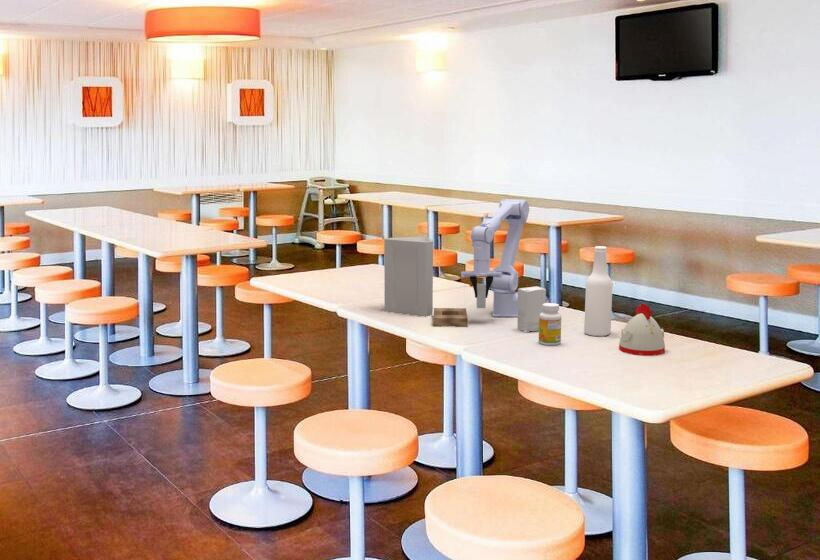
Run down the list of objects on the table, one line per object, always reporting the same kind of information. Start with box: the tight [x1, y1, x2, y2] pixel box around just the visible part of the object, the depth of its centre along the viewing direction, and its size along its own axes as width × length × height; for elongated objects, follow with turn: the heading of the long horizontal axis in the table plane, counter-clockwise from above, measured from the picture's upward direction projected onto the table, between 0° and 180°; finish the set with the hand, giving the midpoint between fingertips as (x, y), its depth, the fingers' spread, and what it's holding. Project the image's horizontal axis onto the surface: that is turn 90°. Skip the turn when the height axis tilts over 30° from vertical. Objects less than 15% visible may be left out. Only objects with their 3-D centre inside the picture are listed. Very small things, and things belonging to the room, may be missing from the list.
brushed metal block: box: [476, 283, 487, 309], centre depth 310 cm, size 3×5×8 cm, turn 178°
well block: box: [433, 307, 469, 328], centre depth 314 cm, size 12×18×3 cm, turn 178°
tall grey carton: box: [383, 236, 434, 317], centre depth 330 cm, size 19×15×28 cm
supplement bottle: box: [538, 302, 562, 346], centre depth 281 cm, size 7×7×13 cm
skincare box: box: [517, 285, 547, 333], centre depth 299 cm, size 8×6×15 cm
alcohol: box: [583, 245, 613, 337], centre depth 293 cm, size 9×9×30 cm
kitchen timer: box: [618, 302, 666, 357], centre depth 272 cm, size 14×14×15 cm
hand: (481, 297), depth 311 cm, fingers closed on brushed metal block, 3 cm apart
